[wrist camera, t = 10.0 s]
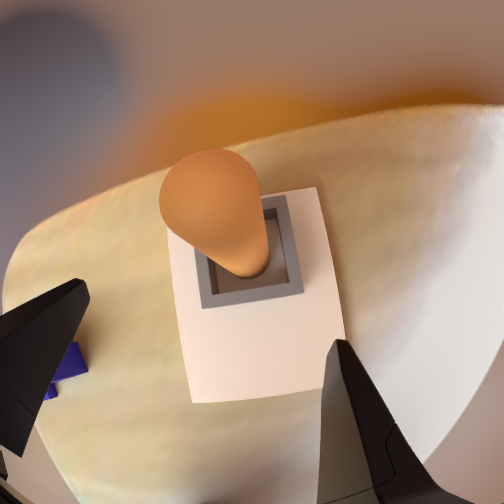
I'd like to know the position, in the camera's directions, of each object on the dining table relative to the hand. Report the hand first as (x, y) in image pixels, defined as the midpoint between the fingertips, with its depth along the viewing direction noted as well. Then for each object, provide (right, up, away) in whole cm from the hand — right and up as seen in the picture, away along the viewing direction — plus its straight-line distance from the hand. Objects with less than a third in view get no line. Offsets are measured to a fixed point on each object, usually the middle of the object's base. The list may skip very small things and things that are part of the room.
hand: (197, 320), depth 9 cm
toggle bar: (+1, +2, +12) cm, 12 cm away
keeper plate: (+2, -1, +12) cm, 12 cm away
